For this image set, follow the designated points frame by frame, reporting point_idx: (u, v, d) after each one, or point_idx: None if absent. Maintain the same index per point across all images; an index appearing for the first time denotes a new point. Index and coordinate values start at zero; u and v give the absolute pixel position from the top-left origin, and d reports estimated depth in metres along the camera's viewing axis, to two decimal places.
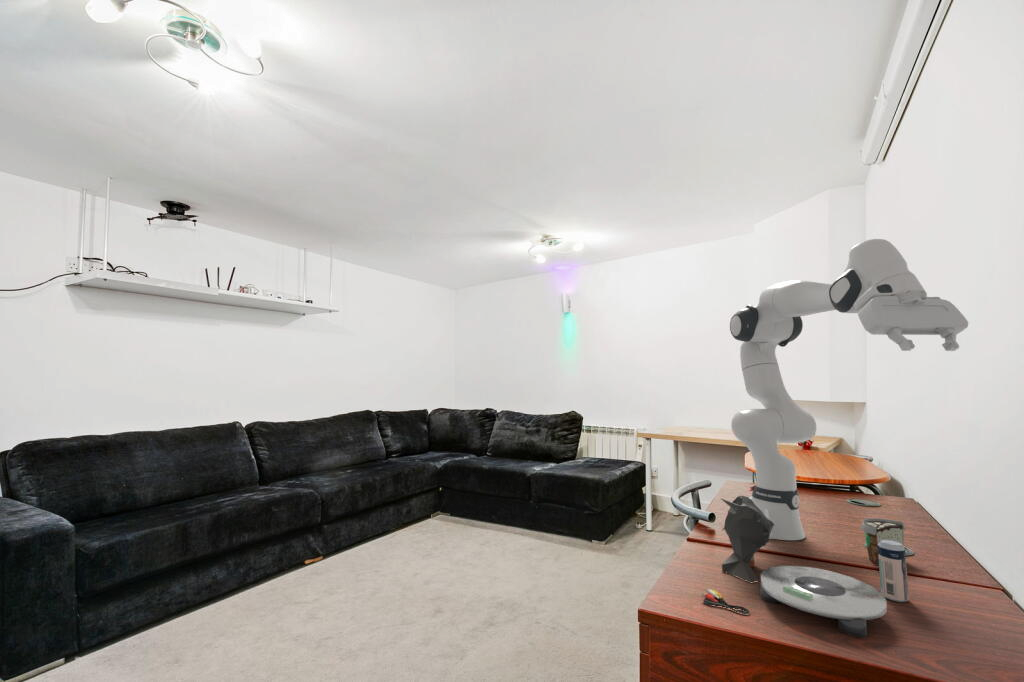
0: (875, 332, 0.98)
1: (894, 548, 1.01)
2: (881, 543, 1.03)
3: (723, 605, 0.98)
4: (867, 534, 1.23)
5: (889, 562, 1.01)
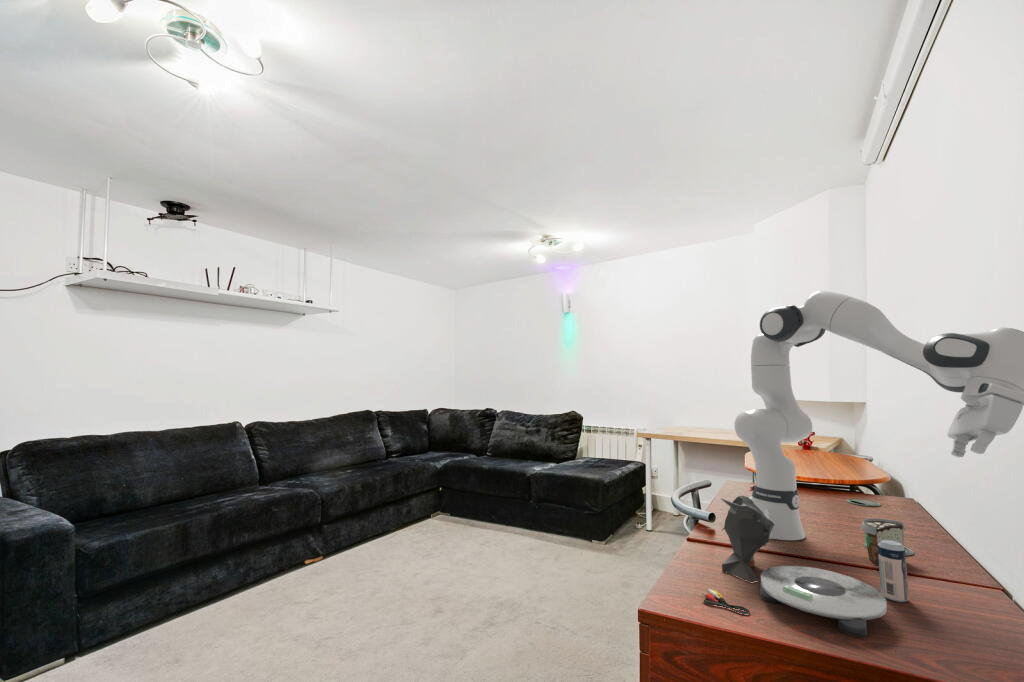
0: (992, 428, 0.93)
1: (894, 548, 1.01)
2: (881, 543, 1.03)
3: (723, 605, 0.98)
4: (867, 534, 1.23)
5: (889, 562, 1.01)
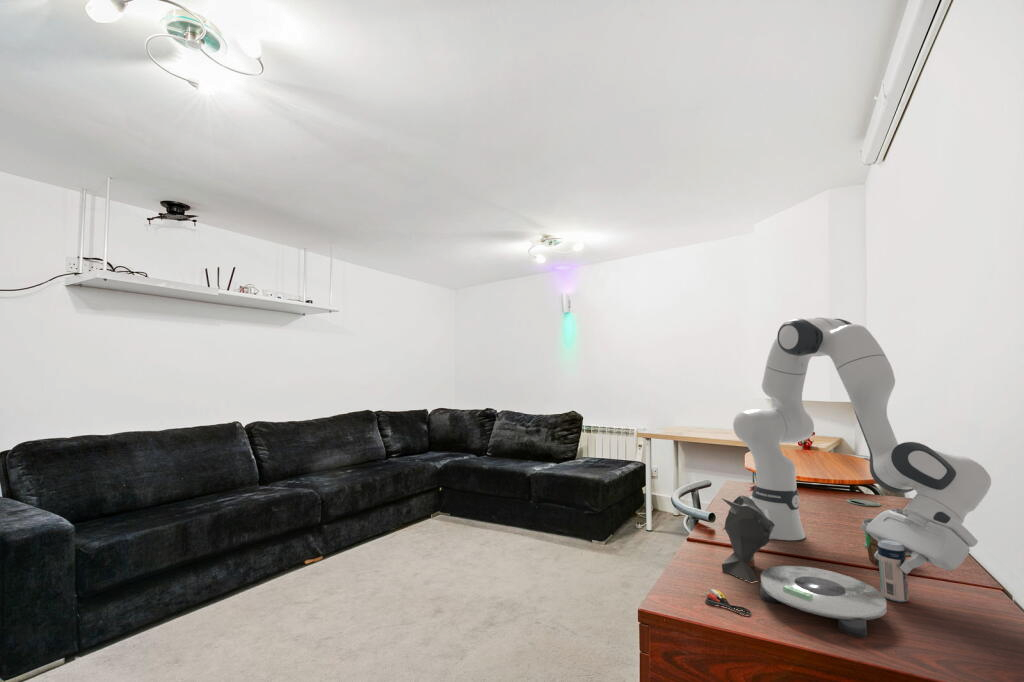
0: (939, 563, 0.94)
1: (894, 548, 1.01)
2: (881, 543, 1.03)
3: (725, 605, 0.98)
4: (867, 534, 1.23)
5: (889, 562, 1.01)
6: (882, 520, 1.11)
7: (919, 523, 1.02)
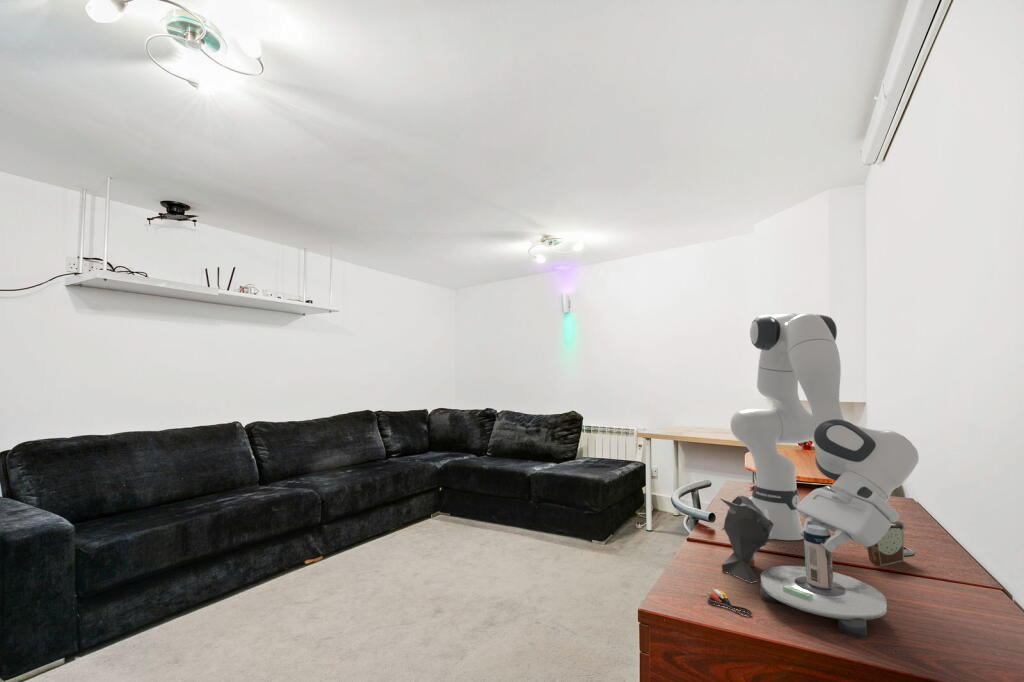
0: (858, 539, 0.90)
1: (819, 532, 0.97)
2: (806, 528, 0.99)
3: (726, 605, 0.98)
4: None
5: (813, 547, 0.97)
6: (812, 498, 1.07)
7: (844, 499, 0.98)
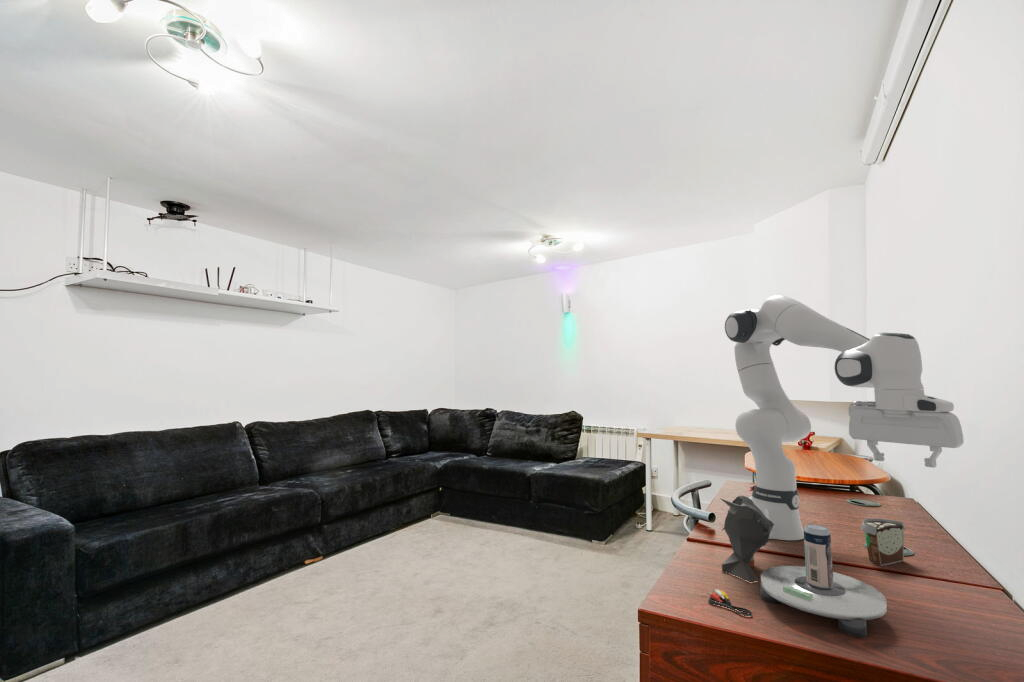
0: (954, 447, 0.97)
1: (819, 532, 0.97)
2: (806, 528, 0.99)
3: (727, 606, 0.98)
4: (867, 534, 1.23)
5: (813, 547, 0.97)
6: (860, 423, 1.11)
7: (905, 416, 1.03)
